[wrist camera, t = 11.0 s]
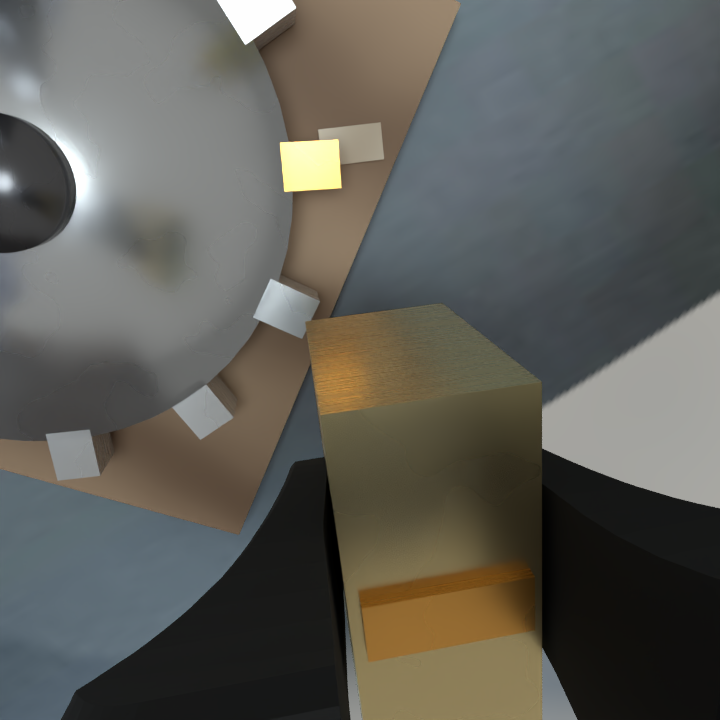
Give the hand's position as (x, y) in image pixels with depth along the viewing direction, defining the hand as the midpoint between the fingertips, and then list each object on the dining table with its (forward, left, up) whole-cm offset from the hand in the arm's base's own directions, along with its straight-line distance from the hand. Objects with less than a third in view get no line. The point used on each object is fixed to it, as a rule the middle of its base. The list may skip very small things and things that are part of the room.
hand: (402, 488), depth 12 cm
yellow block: (0, 0, -2) cm, 2 cm away
